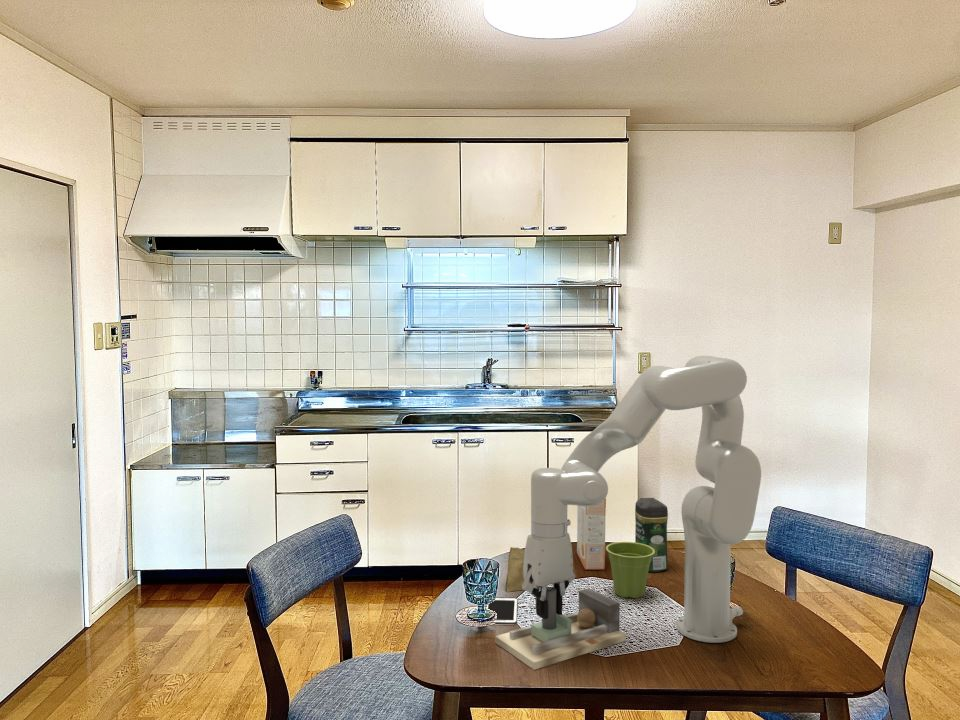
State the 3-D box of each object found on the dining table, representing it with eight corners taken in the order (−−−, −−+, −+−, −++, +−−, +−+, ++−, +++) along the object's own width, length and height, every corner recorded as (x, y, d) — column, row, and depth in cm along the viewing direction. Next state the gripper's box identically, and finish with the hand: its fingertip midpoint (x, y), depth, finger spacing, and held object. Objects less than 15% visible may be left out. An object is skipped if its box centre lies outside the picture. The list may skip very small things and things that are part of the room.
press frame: (583, 617, 169) (583, 585, 169) (625, 640, 157) (626, 606, 157) (495, 643, 157) (494, 608, 156) (534, 670, 145) (534, 632, 144)
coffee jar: (631, 561, 207) (631, 496, 205) (658, 560, 207) (659, 495, 206) (642, 573, 197) (643, 505, 196) (671, 572, 198) (671, 504, 197)
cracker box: (606, 570, 200) (606, 494, 198) (584, 570, 200) (584, 494, 198) (597, 553, 214) (597, 481, 212) (576, 553, 214) (576, 482, 212)
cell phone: (517, 601, 180) (518, 597, 180) (516, 627, 165) (516, 622, 165) (486, 600, 180) (486, 596, 180) (482, 626, 166) (482, 622, 166)
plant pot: (645, 606, 175) (645, 560, 174) (598, 596, 182) (598, 551, 181) (660, 590, 185) (661, 546, 185) (616, 581, 192) (616, 538, 191)
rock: (545, 568, 195) (508, 562, 195) (549, 550, 189) (510, 544, 190) (542, 605, 187) (502, 599, 187) (545, 587, 181) (505, 580, 182)
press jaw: (553, 627, 160) (553, 581, 159) (571, 638, 155) (571, 590, 154) (531, 634, 156) (531, 587, 156) (548, 645, 151) (548, 596, 151)
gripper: (568, 518, 161) (568, 600, 162) (506, 530, 153) (506, 617, 154) (591, 526, 155) (591, 612, 156) (527, 539, 146) (527, 630, 147)
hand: (549, 614), depth 155 cm, fingers closed on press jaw, 3 cm apart
